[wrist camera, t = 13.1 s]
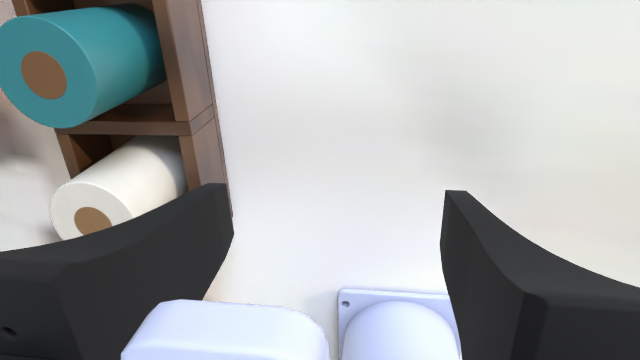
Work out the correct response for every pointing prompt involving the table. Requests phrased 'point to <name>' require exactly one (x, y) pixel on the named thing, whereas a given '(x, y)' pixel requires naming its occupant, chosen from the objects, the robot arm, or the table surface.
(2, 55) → the paper roll
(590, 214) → the table surface
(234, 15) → the table surface
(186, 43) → the rack
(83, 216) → the roll
